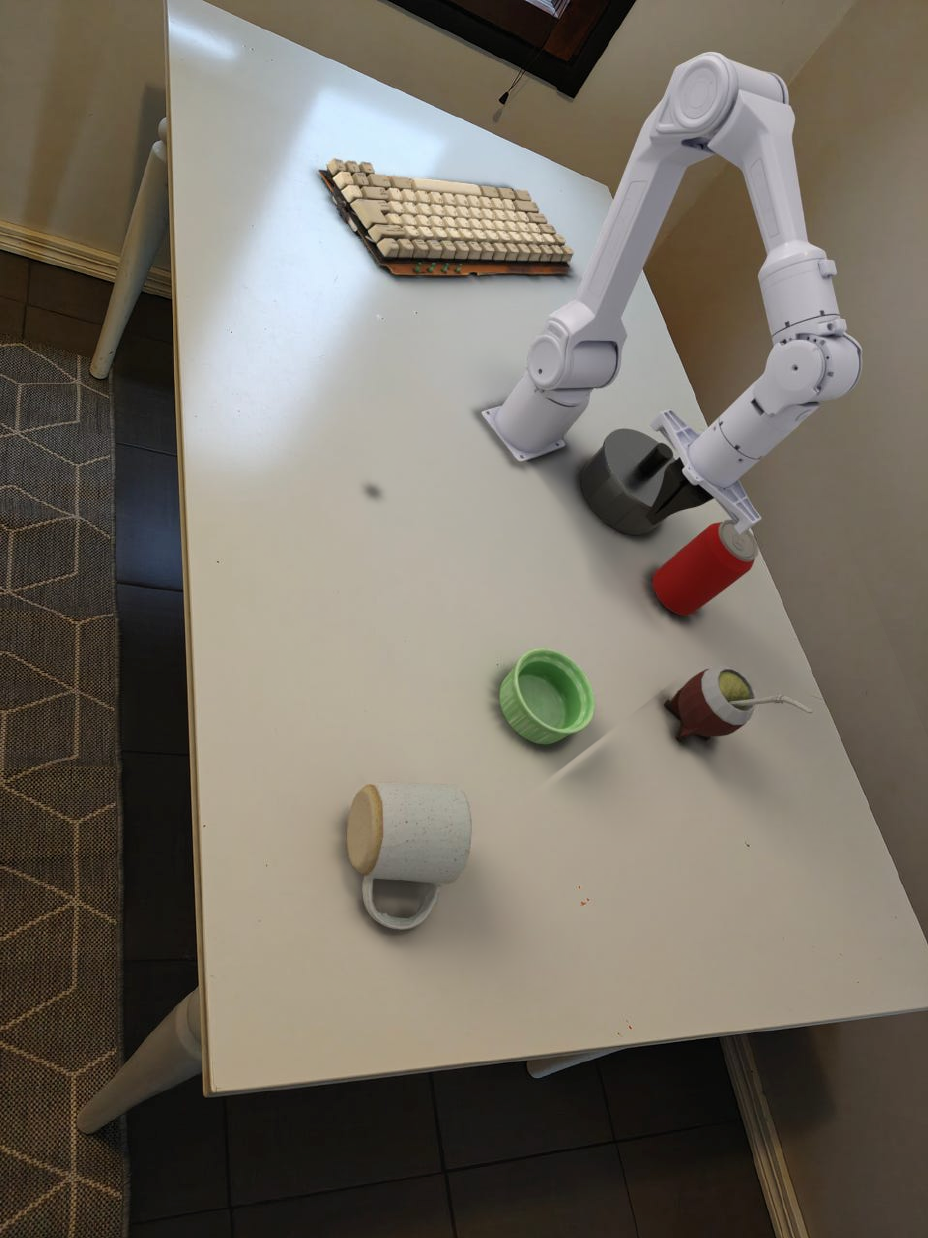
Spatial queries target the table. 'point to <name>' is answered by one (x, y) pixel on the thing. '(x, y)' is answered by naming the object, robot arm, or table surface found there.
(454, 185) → the mechanical keyboard
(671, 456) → the tin lid
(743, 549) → the beverage can
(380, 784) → the ceramic mug
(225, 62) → the table surface
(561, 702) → the ramekin
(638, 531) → the tin
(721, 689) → the mate gourd
